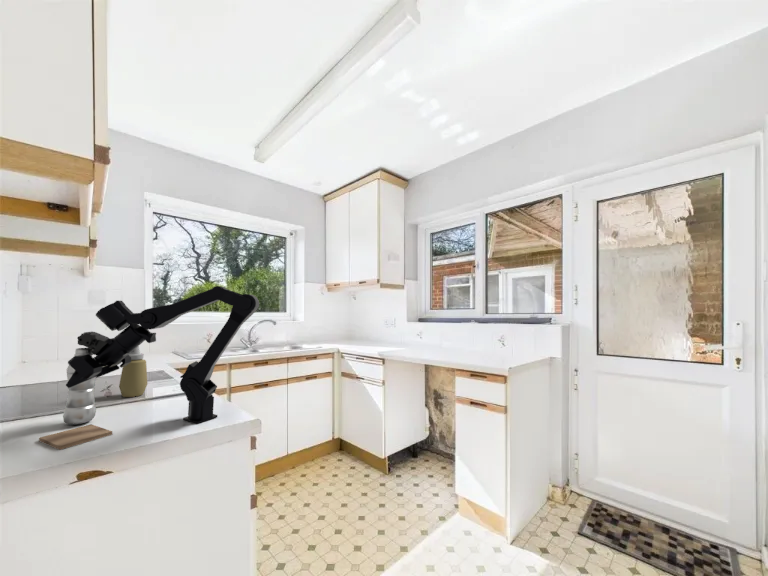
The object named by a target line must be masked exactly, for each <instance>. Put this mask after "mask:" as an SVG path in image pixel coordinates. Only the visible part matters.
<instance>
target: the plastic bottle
mask: <svg viewBox="0 0 768 576" xmlns="http://www.w3.org/2000/svg"><path fill="white" fill-rule="evenodd" d="M92 350H93V349H90V348H88V347H79V348H75V351H74V352H75V354H74V356H78V355H83V354H89V355H91V356H92V357H93V355H94V354H93V353H92V352H91V351H92ZM74 356H73V357H74ZM94 356H95V355H94ZM74 372H75V370H74V369H73V368H72V367H71V366H70V365H69V364H68V365H67V367H66V379H67V382H68V381H69V379H70V378H71V376H72V375H73V373H74ZM96 379H97V378H96V377H94V378H92V379H90V380H87V381H85V382H82V383H80V384H78V385H75V386H73V387H70V388H68V387H67V389H68V390H67V399H66V404H65V408H64V410H63V415H62V419H63V422H64V423H65V424H66V425H69V426H70V425H71V426H72V425H81V424H85V423H88V422H90V421H92V420H94V418H95V416H96V413H97V409H96V408H97V407H96V403H95V402H96V401H95V388H96V387H95V386H96V381H97V380H96Z"/></svg>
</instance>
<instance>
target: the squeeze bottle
mask: <svg viewBox="0 0 768 576" xmlns="http://www.w3.org/2000/svg"><path fill="white" fill-rule="evenodd" d="M129 356H130V357H131V362H130V363H129V364H128V365H127V366H125V367H122V369H121V374H120V380H119V385H118V388H119V390H120V394H121V396H122V397H123V398H135V396H136V397H139V396H142V395H144V393H145V391H146V388H147V387H148V371H147V360H146V359H144V353H141V351H140V345H139V346H138V347H137V348H135V349H134V352H133V353H132V354H129Z"/></svg>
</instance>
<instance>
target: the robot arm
mask: <svg viewBox="0 0 768 576" xmlns="http://www.w3.org/2000/svg"><path fill="white" fill-rule="evenodd" d="M219 301H221V302H223V303H225V304H227V305H229V306H231V307H232V308H231V310H230V314H229V316H228V319H227V321H226V322H225V324H224V326H223V327H222V328H221V330H220V331H219V332H218V334H217V336H216V337H215V338H214V340H213V341H212V343H211V344H210V346H209V347H208V349H206V352H205V353H204V354H203V356H202V358H201V359H200V360H199V361H197V360H196V361H193V362H192V363H190V364H188V366H187V367H186V369H185V371H184V373H183V374H182V375H181V376H180V378H181V379H180V381H179V386H180V390H181V391H182V392H183V393H184V394H185V397H186V400H187V402H188V407H187V409H188V411H187V412H188V413H187V416H184V417H183V418H182V421H187V422H190V423H194V424H201V423H203V422H207V421H209V420H212V419H215V418H218V414H215V413H214V406H215V405H214V403H215V402H214V401H215V400H214V399H215V397H214V396H213V394H214V393H216V390H217V388H218V385H217V384H216V383H215V382H213V381H212V379H211V378H212V376H213V372H214V371H215V370H214V369H215V366H216V365H217V363H218V361H219V359H220V358H221V357H222V355H223V354H224V351H226V350H227V348H228V346H229V344H230V343H231V341H232V340H233V338H234V337H235V336H236V334H237V332H238V331H239V329H240V328H241V327H242V325H243V324H244V323H245V322H247V321H248V320H249V319H250V318H251V317H252V316H253V315H254V313H255V312H256V311H258V309H259V307H260V300H259V299H258V297H257V296H255V295H254V294H249V293H244V294H242V293H239V292H237V291H233V290H230V289H227V288H226V287H224V286H219V285H216V286H213V287H212V288H210V289H208V290H205V291H203V292H200V293H198V294H194V295H192V296H190V297H187V298H183V299H181V300H180V301H177V302H175V303H171V304H166V305H165V304H164V305H161V306H155V307H150V308H146V309H144V310H142V311H141V312H136V313H135V312H133V311H132V310H131V309H130V308H129V307H128V306H127V305H126V304H125V303H124V301H123V300H115V301H114V302H112V303H110V304H108V305H106V306H104V307H101V308H100V309H99V310H98V311H97V312H96V313H95V317H96V318H97V319H99V320H100V321H101V322H102V323H103V324H104V325H105V326H106V327H107V328H108V329H109V330H111V331H112V332H113V331H116V330H117V331H118V332H119V333H118V334H117V335H115V336H114V337H112V338H109V337H108V336H106V335H103V334H101V333H99V332H97V331H86V332H85V331H84V332H83V333H81V334H80V335H79V336H77V345H79V346H83V347H84V348H90V349H93V350H92V351H91V352H92V353H93V354H94V356H93V355H92V356H91V355H89V354H83V355H78V356H73V357H72V358H70V359H69V360H67V365H68V366H69V365H70V366H71V367H72V368H73V369H74V370H75V372H74V373H73V375H72V376H71V378H70V379H69V381H68V380H67V382H66V384H65V387H66V388H67V389H68V388H70V387H73V386H75V385H78V384H80V383H82V382H85V381H87V380H90V379H92V378H94V377H96V379H97V378H100V377H103V376H105V375H107V374H110V373H112V372H115V371H117V370H120V368H123V367H125V366H127V365H128V364H129V363H130V362H131V357H130V356H129V354H132V353H133V352H134V349H135V348H137V347H138V346H139V347H140V345H141V344H142V343H144V342H146V343H148V344H151V343H156V342H157V336H156V335H157V333H156V332H151V331H150V330H155V329H161V328H164V327H166V326H168V325H170V324H171V323H172V322H175V321H176V320H177V319H178V318H180V317H181V316H183V315H187V314H189V313H190V312H193V311H196V310H198V309H201V308H204V307H206V306H208V305H212V304H213V303H217V302H219Z"/></svg>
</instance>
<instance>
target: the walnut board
mask: <svg viewBox="0 0 768 576" xmlns="http://www.w3.org/2000/svg"><path fill="white" fill-rule="evenodd" d="M112 435H113V430H109V429H106V428H104V427H100V426H97V425H94V424H88V425H87V424H86V425H83V426H79V427H75V428H71V429H67V430H63V431H60V432H55V433H51V434H47V435H44V436H40V437H38V442H40V441H41V442H40V443H42V442H43V443H42V444H44V445H47V446H50V447H52V448H55V449H56V450H59V451H60V450H65V449H68V448H72V447H75V446H78V445H82V444H85V443H88V442H91V441H95V440H98V439H102V438H105V437H109V436H112Z"/></svg>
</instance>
